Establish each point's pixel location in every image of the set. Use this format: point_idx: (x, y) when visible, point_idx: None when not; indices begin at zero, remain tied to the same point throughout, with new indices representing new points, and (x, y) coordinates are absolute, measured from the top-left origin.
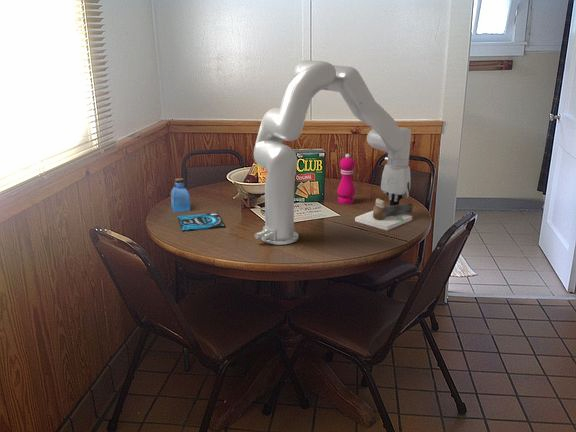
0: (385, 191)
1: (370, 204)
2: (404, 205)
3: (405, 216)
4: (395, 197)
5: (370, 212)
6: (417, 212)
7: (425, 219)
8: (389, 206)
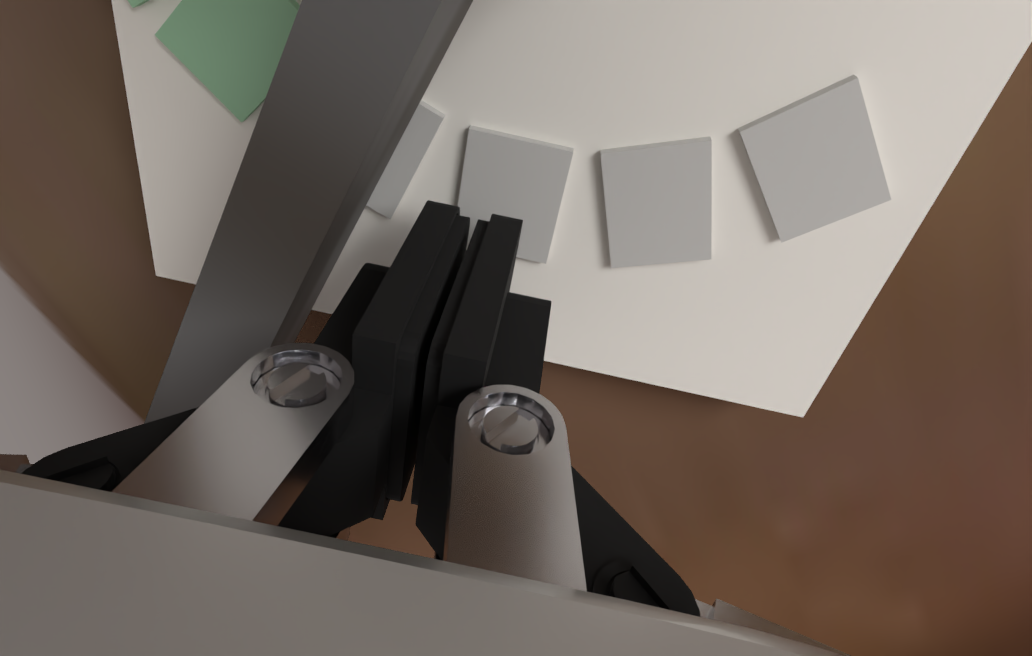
0: (717, 621)
1: (998, 565)
2: (175, 358)
3: (218, 198)
4: (277, 442)
5: (981, 37)
6: None
7: (92, 354)
8: (382, 6)
